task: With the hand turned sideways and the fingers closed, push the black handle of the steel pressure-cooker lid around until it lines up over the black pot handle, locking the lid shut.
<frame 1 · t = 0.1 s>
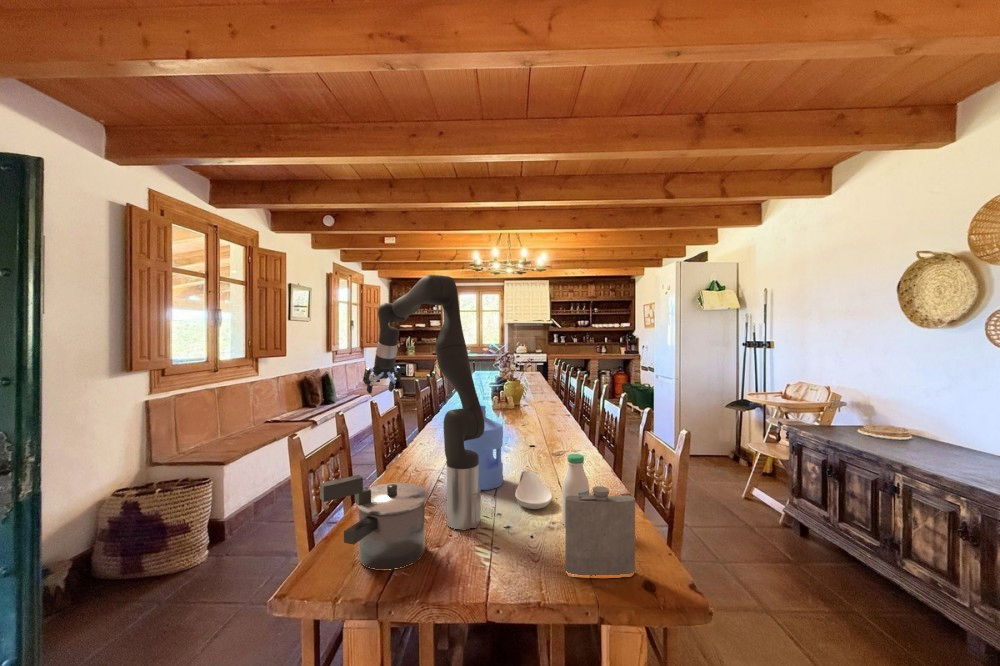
hand: (380, 391, 168), 31 cm above the table, tool tilted 20°, fingers open, 8 cm apart
milk bottle: (575, 525, 124), on the table
pressure cooker lid: (375, 489, 106), point 17 cm above the table, hinge at -30.0°
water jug: (481, 483, 157), on the table
spoon rest: (530, 499, 144), on the table
pressure cooker pot: (392, 553, 109), on the table
hip flask: (600, 575, 99), on the table
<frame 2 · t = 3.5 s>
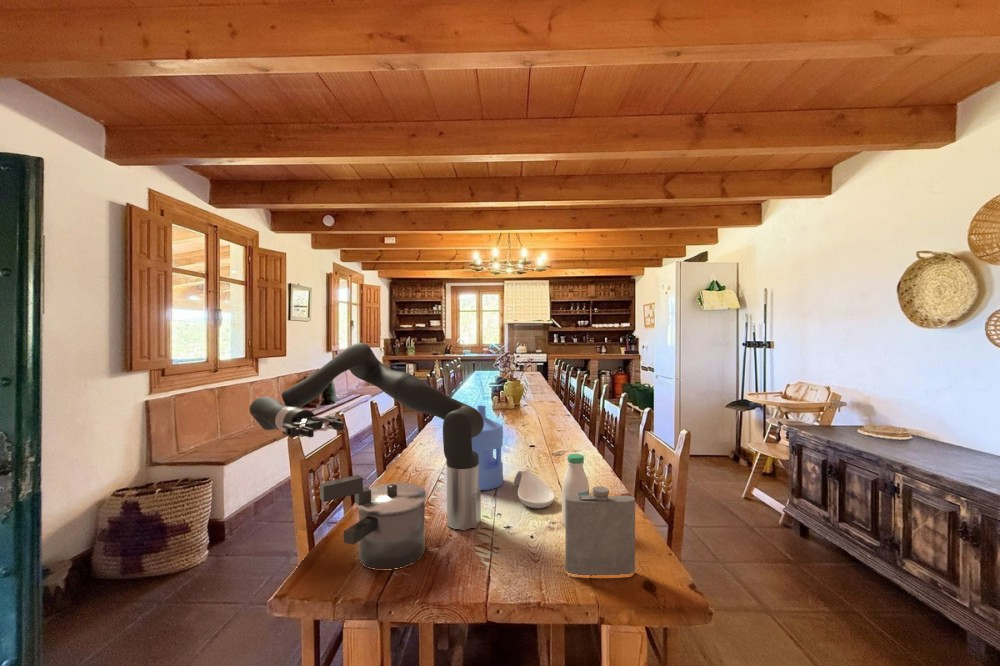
hand: (327, 430, 113), 30 cm above the table, tool horizontal, fingers open, 8 cm apart
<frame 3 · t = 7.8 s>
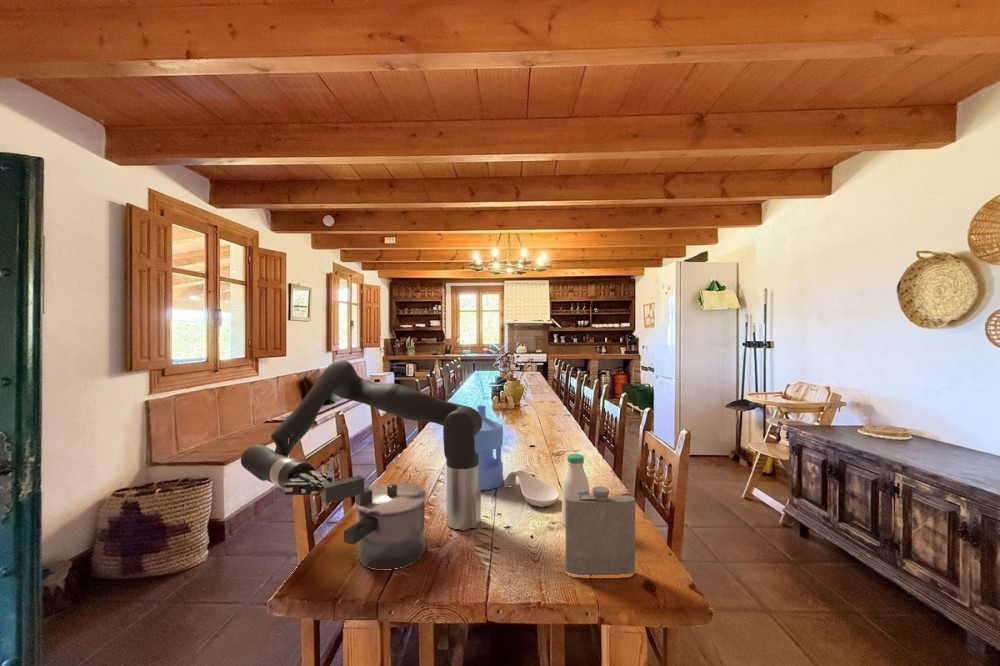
hand: (330, 490, 99), 19 cm above the table, tool horizontal, fingers closed
pressure cooker lid: (376, 489, 106), point 17 cm above the table, hinge at -26.0°, touching gripper
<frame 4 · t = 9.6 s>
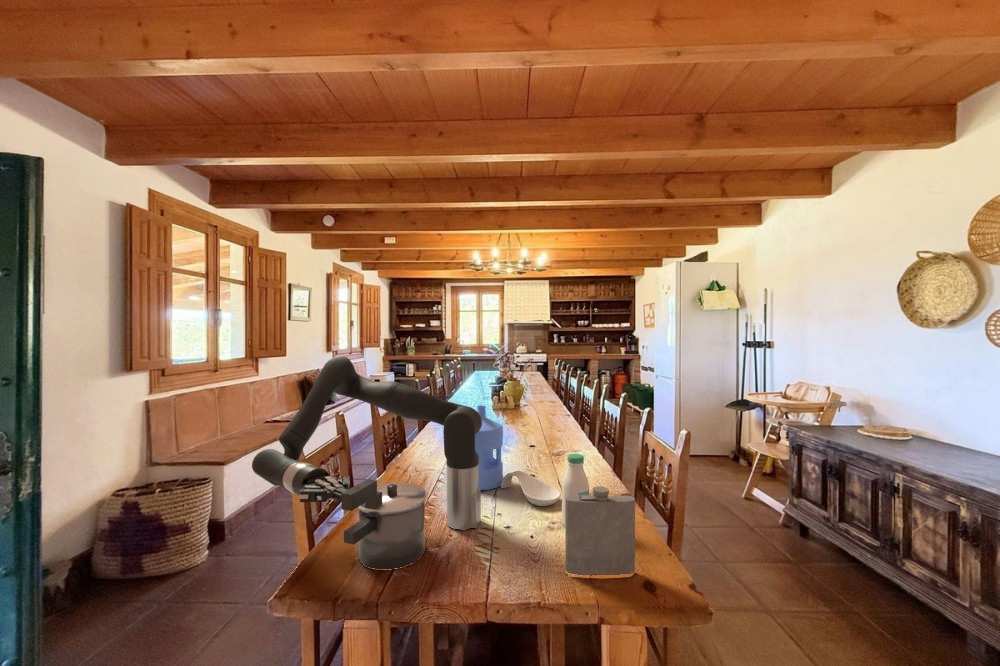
hand: (348, 497, 95), 19 cm above the table, tool horizontal, fingers closed
pressure cooker lid: (381, 491, 104), point 17 cm above the table, hinge at 1.1°, touching gripper
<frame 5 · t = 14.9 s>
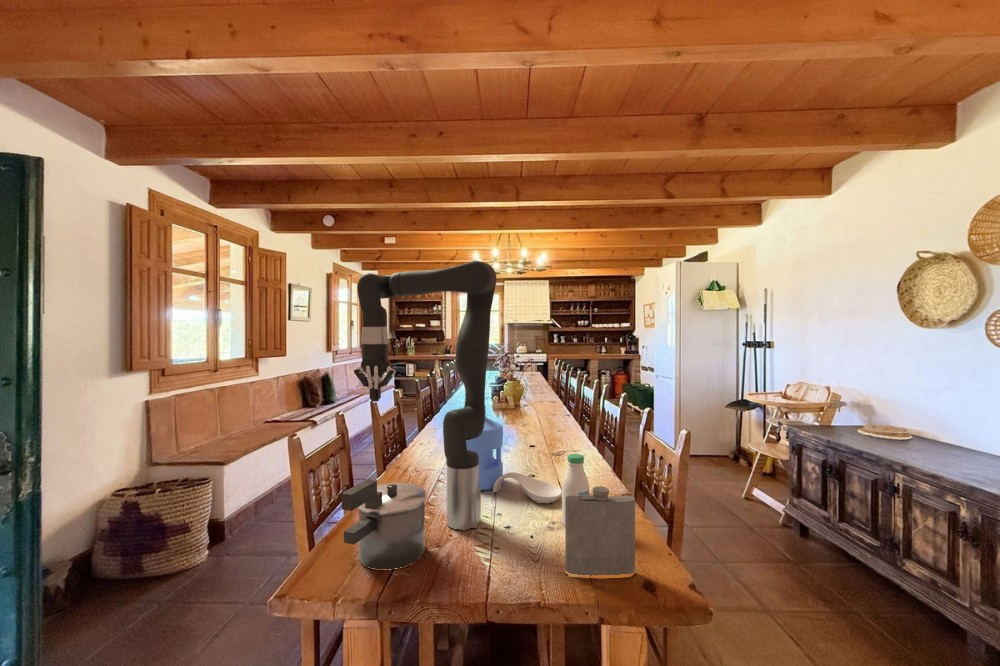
hand: (375, 401, 127), 35 cm above the table, tool pointing down, fingers closed
pressure cooker lid: (381, 491, 104), point 17 cm above the table, hinge at 1.1°
at the end: pressure cooker lid at +1° (first picture: -30°) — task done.
